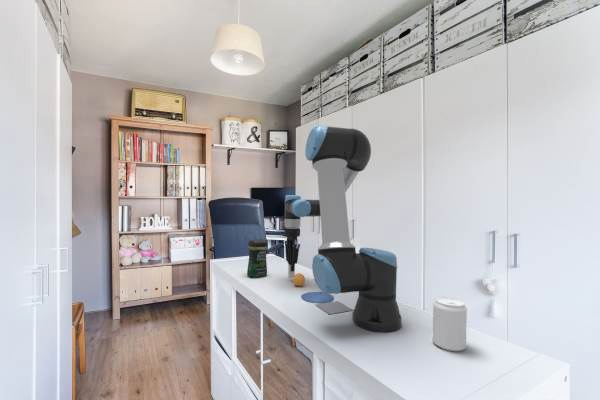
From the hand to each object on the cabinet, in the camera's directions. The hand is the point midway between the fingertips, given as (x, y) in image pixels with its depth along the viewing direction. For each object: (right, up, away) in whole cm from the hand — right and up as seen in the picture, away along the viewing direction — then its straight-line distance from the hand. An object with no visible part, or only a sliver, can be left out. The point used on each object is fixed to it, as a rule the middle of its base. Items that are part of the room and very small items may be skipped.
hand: (291, 277), depth 140 cm
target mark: (+11, -2, -23) cm, 25 cm away
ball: (+4, +1, -7) cm, 8 cm away
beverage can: (+45, -3, -60) cm, 75 cm away
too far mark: (+16, -2, -33) cm, 37 cm away
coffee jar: (-17, -2, +8) cm, 19 cm away
